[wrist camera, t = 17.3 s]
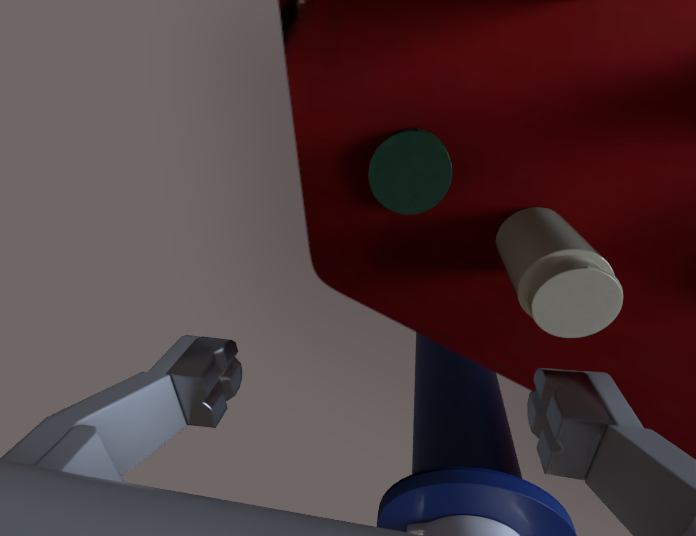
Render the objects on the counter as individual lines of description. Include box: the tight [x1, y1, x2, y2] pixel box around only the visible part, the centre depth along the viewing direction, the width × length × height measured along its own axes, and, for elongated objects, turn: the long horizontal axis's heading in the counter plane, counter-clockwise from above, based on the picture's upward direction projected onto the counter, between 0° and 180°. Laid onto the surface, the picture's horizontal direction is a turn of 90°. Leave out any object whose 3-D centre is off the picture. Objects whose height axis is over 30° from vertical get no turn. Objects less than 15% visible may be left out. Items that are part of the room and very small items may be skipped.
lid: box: [368, 128, 452, 215], centre depth 31 cm, size 7×7×2 cm
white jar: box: [496, 207, 623, 338], centre depth 28 cm, size 6×6×11 cm
